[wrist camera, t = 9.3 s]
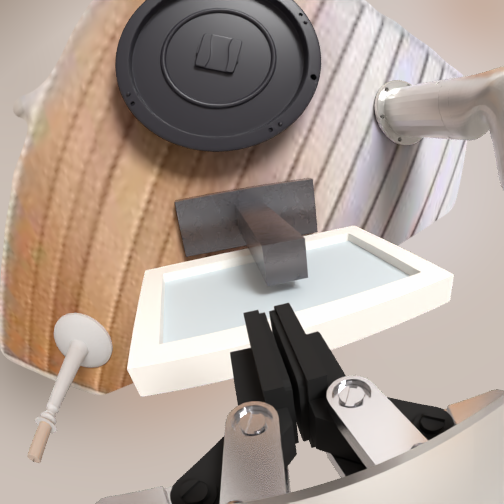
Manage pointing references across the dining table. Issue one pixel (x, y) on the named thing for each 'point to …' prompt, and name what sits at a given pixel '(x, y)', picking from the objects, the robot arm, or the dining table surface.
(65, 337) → the candlestick
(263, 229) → the frame stand
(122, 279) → the dining table surface
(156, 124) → the round tray
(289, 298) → the picture frame
